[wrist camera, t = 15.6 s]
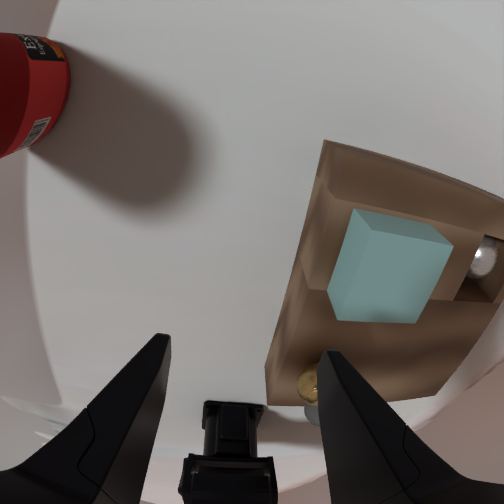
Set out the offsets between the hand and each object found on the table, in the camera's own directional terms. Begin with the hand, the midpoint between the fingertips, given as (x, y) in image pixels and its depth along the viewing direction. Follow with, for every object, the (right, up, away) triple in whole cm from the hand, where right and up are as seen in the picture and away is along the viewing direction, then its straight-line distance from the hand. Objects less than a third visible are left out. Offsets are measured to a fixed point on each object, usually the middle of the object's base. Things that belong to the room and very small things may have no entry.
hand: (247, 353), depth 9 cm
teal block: (+7, +3, +7) cm, 10 cm away
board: (+12, 0, +14) cm, 18 cm away
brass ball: (+5, -6, +10) cm, 13 cm away
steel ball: (+18, +3, +10) cm, 21 cm away
